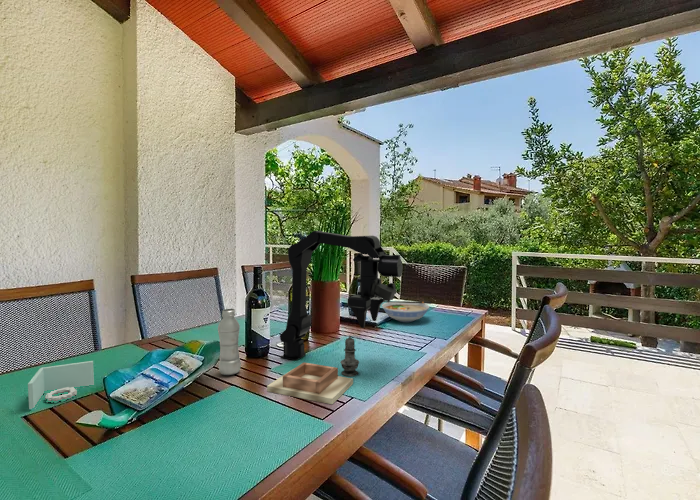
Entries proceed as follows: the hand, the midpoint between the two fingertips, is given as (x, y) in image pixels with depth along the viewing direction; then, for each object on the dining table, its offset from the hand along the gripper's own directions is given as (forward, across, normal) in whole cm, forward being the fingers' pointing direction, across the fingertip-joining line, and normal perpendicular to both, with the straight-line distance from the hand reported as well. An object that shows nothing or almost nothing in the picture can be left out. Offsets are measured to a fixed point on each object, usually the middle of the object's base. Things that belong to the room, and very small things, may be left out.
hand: (368, 324), depth 121 cm
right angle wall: (+15, -55, +64) cm, 86 cm away
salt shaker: (+15, -6, +4) cm, 16 cm away
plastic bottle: (+15, -23, +36) cm, 46 cm away
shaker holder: (+14, -20, +9) cm, 26 cm away
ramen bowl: (+15, +65, +9) cm, 67 cm away
